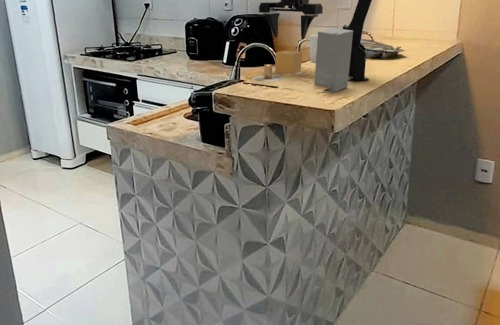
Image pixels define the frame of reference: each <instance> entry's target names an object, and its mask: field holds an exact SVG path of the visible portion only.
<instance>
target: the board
mask: <svg viewBox="0 0 500 325" xmlns="http://www.w3.org/2000/svg"><path fill="white" fill-rule="evenodd" d="M303 72H304V71H302V70H301V72H298V73H295V74H283V73H275V70H273V73H274V74H276V75H272V79H264V75H259V76H258V75H257V76H254V77H252V80H253V81H256V82H263V83H264V82H265V83H266V82H267V83H269V82H274V83H275V82H280V81H283V80H284V79H285V78H284V77H282V76H294V75H301V74H303ZM278 75H280V76H278ZM281 75H282V76H281ZM242 84H243V85H248V84H251V85H250V86H256V85H258V86H257V87H263V86H265V87H266V88H271V89H272V88H273V89H278V88H279V86H278V85H270V84H269V85H268V84H262V83H254V82H246V81H242ZM265 87H264V88H265Z"/></svg>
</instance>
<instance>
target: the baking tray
mask: <svg viewBox="0 0 500 325" xmlns="http://www.w3.org/2000/svg"><path fill="white" fill-rule="evenodd" d="M361 44H362V45H363V46H364V47H365V48H366V49H367V53H366V56H365V58H366V59H372V58H381V59H382V60H383V59H387V58H391V57H394V56H397V55H398V54H400V53H402V52H406V50H404V49H402V47H401V46H398V45H397V46H396V48H395V47H394V46H393V45H390V44H387V43H385V42H384V43H383V42H379V41H376V40H371V39H367V38H361Z"/></svg>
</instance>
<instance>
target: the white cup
mask: <svg viewBox="0 0 500 325" xmlns="http://www.w3.org/2000/svg"><path fill="white" fill-rule="evenodd" d="M317 40H318V33H316V34H315V33H313V34H309V56H310V64H316V54H317Z"/></svg>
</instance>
